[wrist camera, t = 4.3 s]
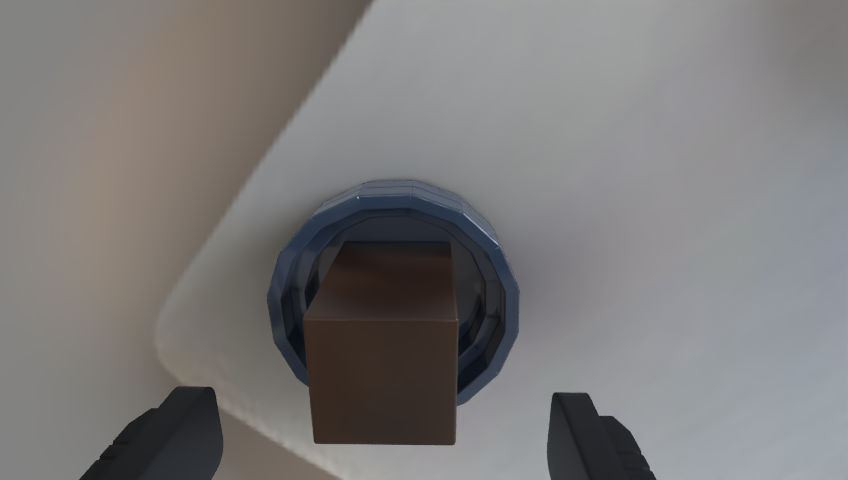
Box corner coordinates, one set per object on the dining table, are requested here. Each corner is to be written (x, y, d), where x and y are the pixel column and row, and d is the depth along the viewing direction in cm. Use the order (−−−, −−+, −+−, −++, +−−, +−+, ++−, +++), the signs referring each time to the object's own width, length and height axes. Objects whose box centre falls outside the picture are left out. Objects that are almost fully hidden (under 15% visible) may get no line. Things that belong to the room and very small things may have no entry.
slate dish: (266, 341, 20) (243, 378, 17) (324, 144, 17) (306, 155, 15) (460, 403, 21) (464, 447, 18) (543, 223, 18) (561, 246, 16)
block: (348, 336, 19) (313, 445, 14) (343, 241, 18) (301, 317, 12) (448, 337, 19) (455, 446, 13) (450, 241, 18) (458, 318, 12)
